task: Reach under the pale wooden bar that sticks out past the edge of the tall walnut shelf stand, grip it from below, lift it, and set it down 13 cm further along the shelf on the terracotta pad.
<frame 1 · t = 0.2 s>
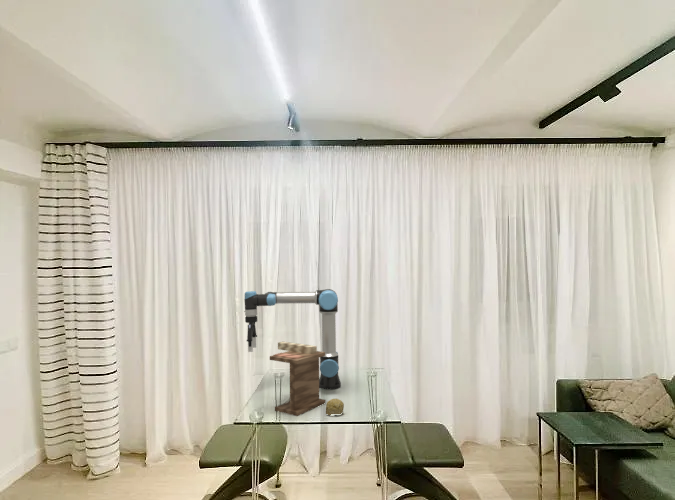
hand: (252, 349, 299), 27 cm above the table, tool pointing down, fingers open, 13 cm apart
stand: (298, 406, 273), on the table
bar: (296, 351, 282), point 30 cm above the table, touching stand
rock: (334, 414, 260), on the table
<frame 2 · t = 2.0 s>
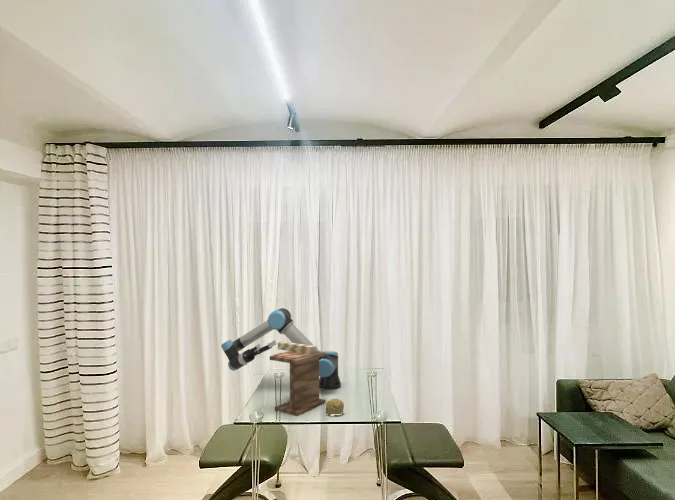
hand: (268, 343, 295), 32 cm above the table, tool pointing upward, fingers open, 13 cm apart
nothing on the table moved.
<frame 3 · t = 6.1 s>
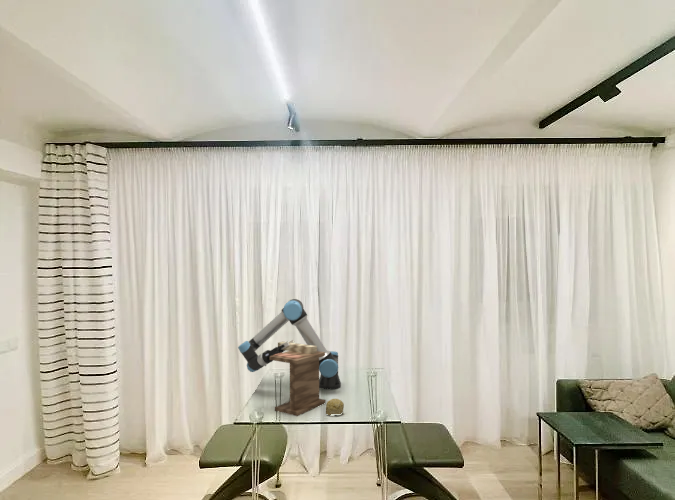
hand: (291, 342, 284), 35 cm above the table, tool pointing upward, fingers closed on bar, 4 cm apart
bar: (296, 351, 282), point 30 cm above the table, touching gripper, stand
everything else where it was.
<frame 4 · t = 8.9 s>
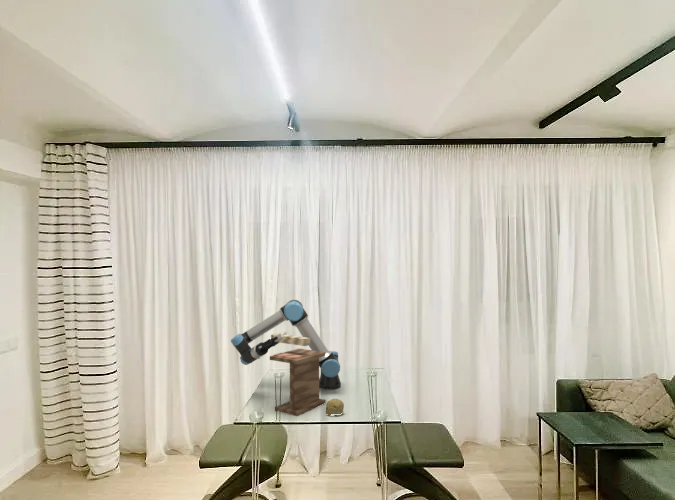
hand: (284, 334, 281), 40 cm above the table, tool pointing upward, fingers closed on bar, 4 cm apart
bar: (290, 343, 278), point 35 cm above the table, touching gripper
everything else where it was.
when the fingers open (36 cm above the table, at t = 11.7 s): bar drops 1 cm, resting on stand.
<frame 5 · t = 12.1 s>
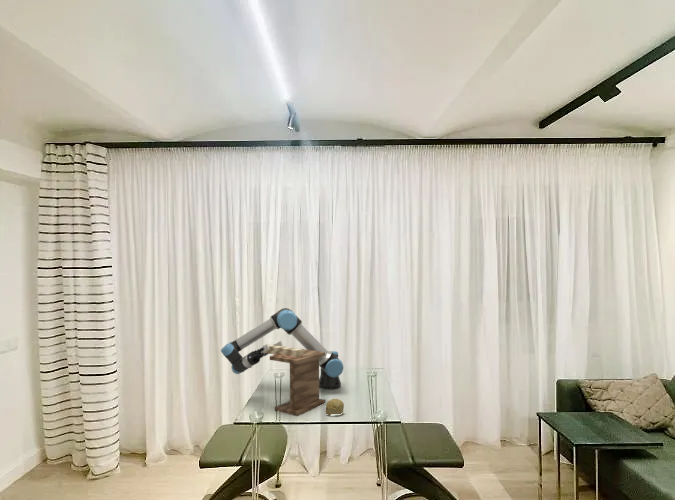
hand: (275, 344, 274), 35 cm above the table, tool pointing upward, fingers open, 11 cm apart
bar: (282, 354, 271), point 30 cm above the table, touching stand
everything else where it was.
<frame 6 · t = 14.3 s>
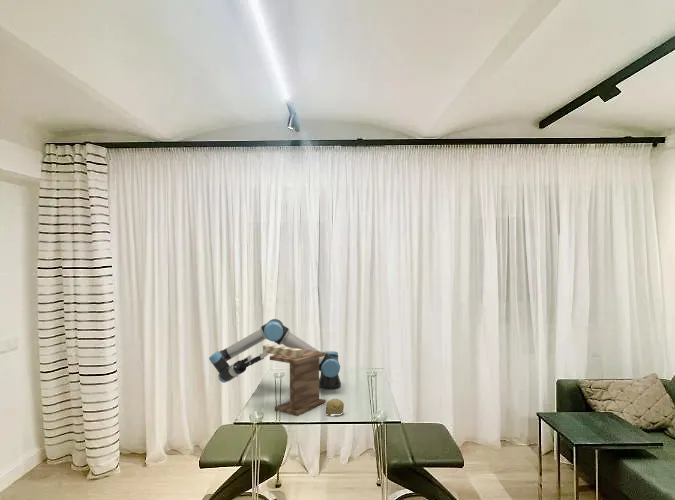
hand: (259, 354, 281), 28 cm above the table, tool pointing upward, fingers open, 13 cm apart
nothing on the table moved.
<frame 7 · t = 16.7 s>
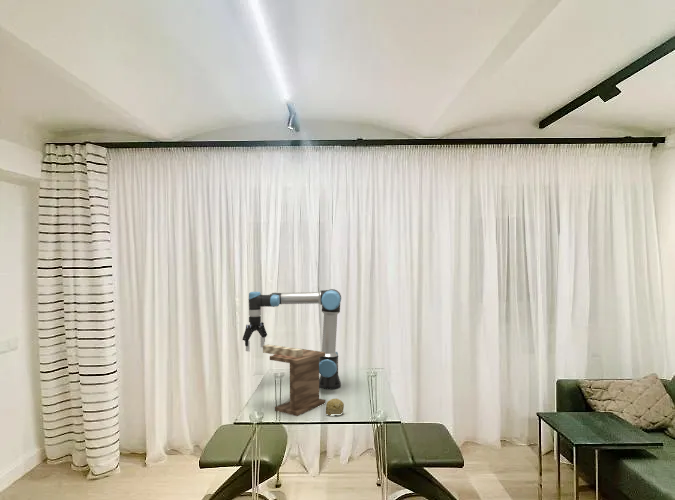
hand: (255, 349, 303), 27 cm above the table, tool pointing down, fingers open, 13 cm apart
nothing on the table moved.
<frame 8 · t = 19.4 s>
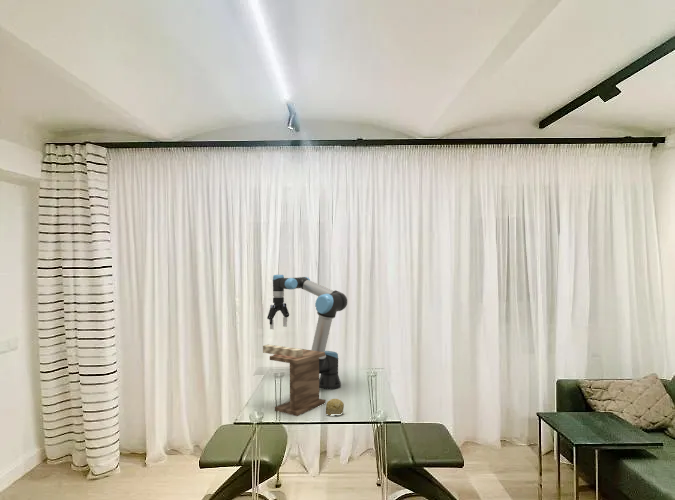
hand: (278, 327, 327), 37 cm above the table, tool pointing down, fingers open, 13 cm apart
nothing on the table moved.
at the end: bar 0.1 cm from the target spot on the stand, point 30.3 cm above the stand's base; bar tilted 0°; the gripper is holding nothing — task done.
